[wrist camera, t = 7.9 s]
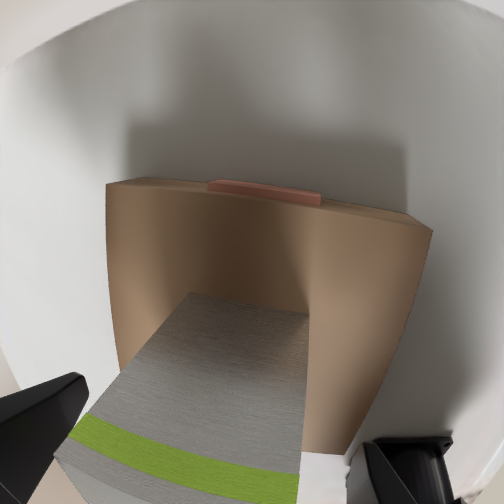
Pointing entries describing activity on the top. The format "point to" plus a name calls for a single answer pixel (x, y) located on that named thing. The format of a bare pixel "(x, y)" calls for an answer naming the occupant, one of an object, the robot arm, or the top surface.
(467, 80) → the top surface
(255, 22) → the top surface
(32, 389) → the robot arm
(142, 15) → the top surface
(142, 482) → the metal column
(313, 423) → the walnut riser
